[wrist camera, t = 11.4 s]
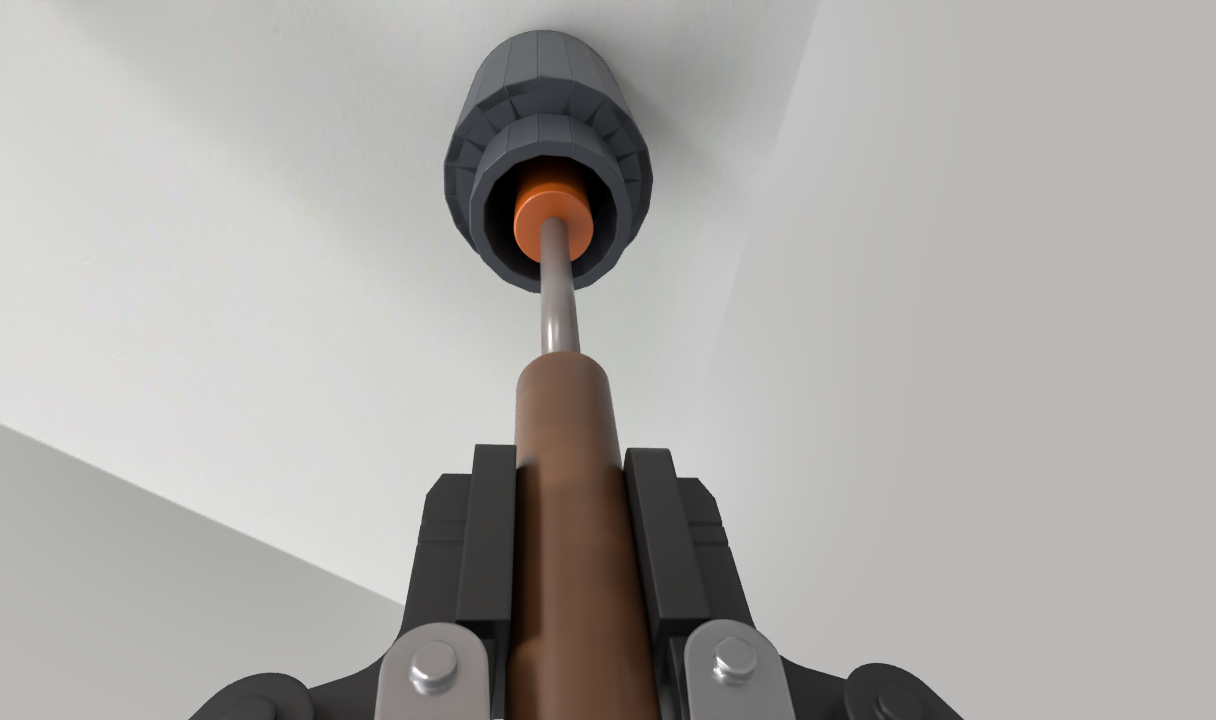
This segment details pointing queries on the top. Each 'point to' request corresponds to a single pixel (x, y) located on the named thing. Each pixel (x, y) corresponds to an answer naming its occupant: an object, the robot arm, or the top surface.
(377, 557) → the top surface
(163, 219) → the top surface
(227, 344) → the top surface
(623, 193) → the steel bottle
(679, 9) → the top surface
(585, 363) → the bottle brush
